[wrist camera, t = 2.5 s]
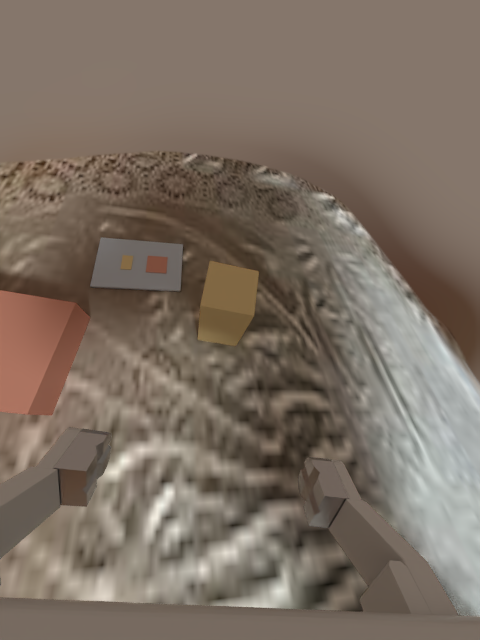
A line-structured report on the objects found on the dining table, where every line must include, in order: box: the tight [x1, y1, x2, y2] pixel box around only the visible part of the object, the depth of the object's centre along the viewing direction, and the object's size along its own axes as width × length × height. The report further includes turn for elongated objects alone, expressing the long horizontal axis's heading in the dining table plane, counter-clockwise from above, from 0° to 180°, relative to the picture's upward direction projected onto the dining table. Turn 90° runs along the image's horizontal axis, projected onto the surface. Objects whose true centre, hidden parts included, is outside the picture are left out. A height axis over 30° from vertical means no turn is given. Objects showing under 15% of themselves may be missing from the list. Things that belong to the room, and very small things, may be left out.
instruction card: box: [90, 237, 183, 292], centre depth 29 cm, size 10×7×1 cm
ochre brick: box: [198, 261, 259, 346], centre depth 24 cm, size 4×4×9 cm
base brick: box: [0, 290, 90, 415], centre depth 22 cm, size 10×10×4 cm
